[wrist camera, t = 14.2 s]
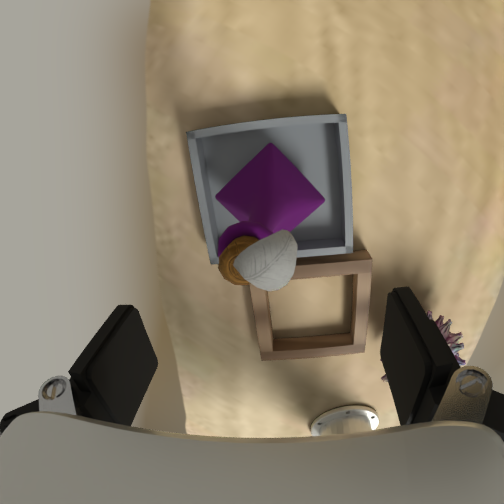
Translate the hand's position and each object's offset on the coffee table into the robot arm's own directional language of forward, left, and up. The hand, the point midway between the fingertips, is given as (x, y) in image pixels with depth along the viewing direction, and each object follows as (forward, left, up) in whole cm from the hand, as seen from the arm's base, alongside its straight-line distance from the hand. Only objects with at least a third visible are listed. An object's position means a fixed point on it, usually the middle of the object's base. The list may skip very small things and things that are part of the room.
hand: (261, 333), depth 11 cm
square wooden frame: (-15, -3, -23) cm, 28 cm away
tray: (0, 0, -23) cm, 23 cm away
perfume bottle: (0, 0, -23) cm, 23 cm away
